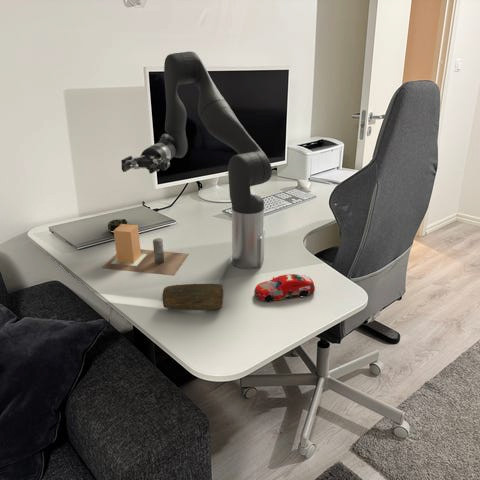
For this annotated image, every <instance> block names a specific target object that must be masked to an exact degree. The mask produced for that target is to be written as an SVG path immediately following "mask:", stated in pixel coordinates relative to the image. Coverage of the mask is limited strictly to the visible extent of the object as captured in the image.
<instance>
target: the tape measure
mask: <svg viewBox="0 0 480 480" xmlns="http://www.w3.org/2000/svg"><path fill="white" fill-rule="evenodd" d="M121 224H128V221H127V219H126V218H122V219H112V220H110V221H108V223H107V229H108V231H109V230H110V231H114V230H115V229H116V228H117V227H118V226H120V225H121ZM110 231H109V232H110Z"/></svg>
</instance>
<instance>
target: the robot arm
mask: <svg viewBox="0 0 480 480" xmlns="http://www.w3.org/2000/svg"><path fill="white" fill-rule="evenodd" d="M163 73H164V74H163V75H164V89H165V90H164V92H165V101H166V102H165V104H166V109H165V110H166V112H165V123H164V132H165V133H163V134H161V136H160V137H161V138H160V137H159V139H160V140H158V142H157V143H155V144H152V145H150V146H148V147H146V148H145V149H144V150H143V151H142V152H141V154H140V155H139V156H137V157H136V156H135V157H133V155H130V156H128V157H125V158H122V159H121V171H122V172H124V173H126V172H127V171H130V170H131V169H132V170H139V169H146V170H148V173H149V174H154V173H155V172H159V171H160V170H161V171H162V172H164V171H166V170H167V169H168V168H169V167H170V166H171V163H170V160H172V159H173V158H176V159H177V158H178V159H181V158H184V157H185V155H186V154H187V152H188V148H189V146H188V138H187V135H186V126H187V125H186V124H187V114H188V113H187V110H186V107H185V105H184V103H183V102H182V100H181V98H180V96H179V93H178V87H179V86H181V85H186V84H192V83H193V84H194V85H195V86H196V87H197V89H198V91H199V96H198V101H197V103H198V104H197V113H198V114H197V115H198V117H199V119H200V120H201V123H202V124H203V125H204V127H205V129H206V131H207V132H208V133H209V134H211V136H213V137H214V138H215V139H217V140H218V141H220V142H221V143H224V144H225V145H227V146H229V147H230V148H232V149H233V150H234V151H235V152H236V154H235V155H233V156H231V158H230V159H229V161H228V167H227V171H228V172H227V173H228V188H229V189H228V190H229V191H228V192H229V199H230V202H231V248H232V249H231V258H232V259H231V261H232V264H233V265H234V266H235V267H238V268H240V269H247V270H248V268H250V269H255V267H256V268H262V266H263V263H264V260H265V233H266V232H265V230H264V223H265V222H264V220H265V213H264V212H265V200H264V199H263V198H262V197H261V196H259V195H256V194H253V193H251V187H254V186H257V185H258V186H259V185H262V184H265V183H267V182H268V181H269V180H270V179H271V178H272V175H273V172H272V170H273V169H272V164H271V162H270V159H269V158H268V156H267V155H266V153H265V152H264V151H263V150H262V148H261V147H260V146H259V145H258V144H257V142H256V141H255V140H254V139H253V138H252V136H251V135H250V134H249V133H248V131H247V130H246V129H245V127H244V126H243V124H241V122H240V121H239V119H238V117H237V116H236V114H235V113H234V111H233V110H232V108H231V106H230V105H229V104H228V102H227V100H226V99H225V98H224V96H223V95H222V94H221V92H220V91H219V89H218V88H217V86H216V84H215V83H214V81H213V79H212V78H211V76H210V74H209V72H208V69H207V68H206V66H205V64H204V62H203V60H202V58H201V57H200V56H199V54H198V53H196V52H194V51H183V52H174V53H169V54H167V56H166V57H165V58H164V66H163ZM166 133H167V134H166Z"/></svg>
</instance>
